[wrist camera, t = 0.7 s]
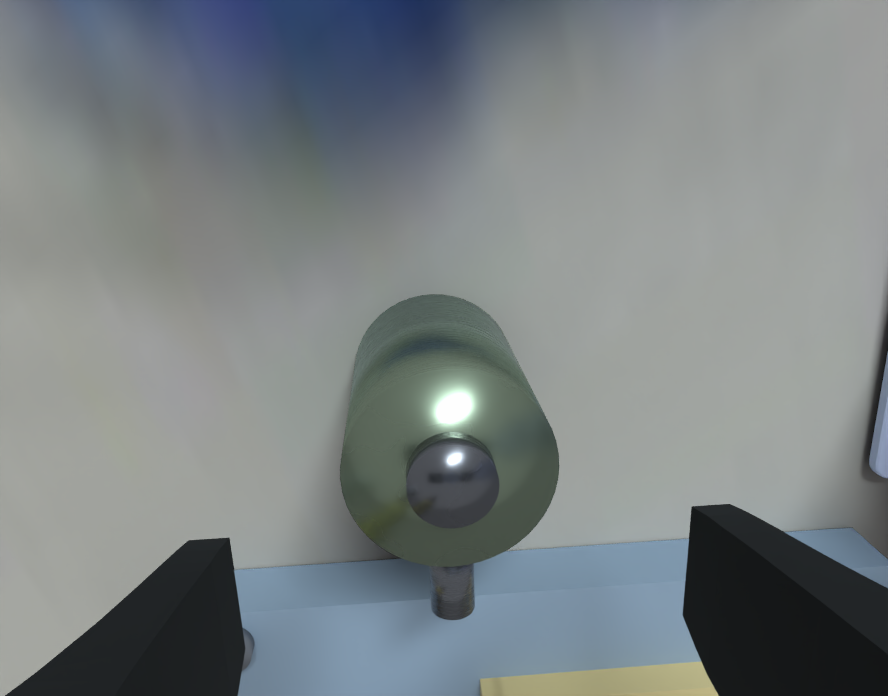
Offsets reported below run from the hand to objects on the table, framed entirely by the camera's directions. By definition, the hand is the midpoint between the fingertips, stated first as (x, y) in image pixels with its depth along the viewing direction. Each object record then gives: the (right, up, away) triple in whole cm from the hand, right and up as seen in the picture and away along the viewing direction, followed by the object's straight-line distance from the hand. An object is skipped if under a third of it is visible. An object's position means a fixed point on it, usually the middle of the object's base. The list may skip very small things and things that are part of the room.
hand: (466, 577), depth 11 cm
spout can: (-1, +3, +9) cm, 9 cm away
